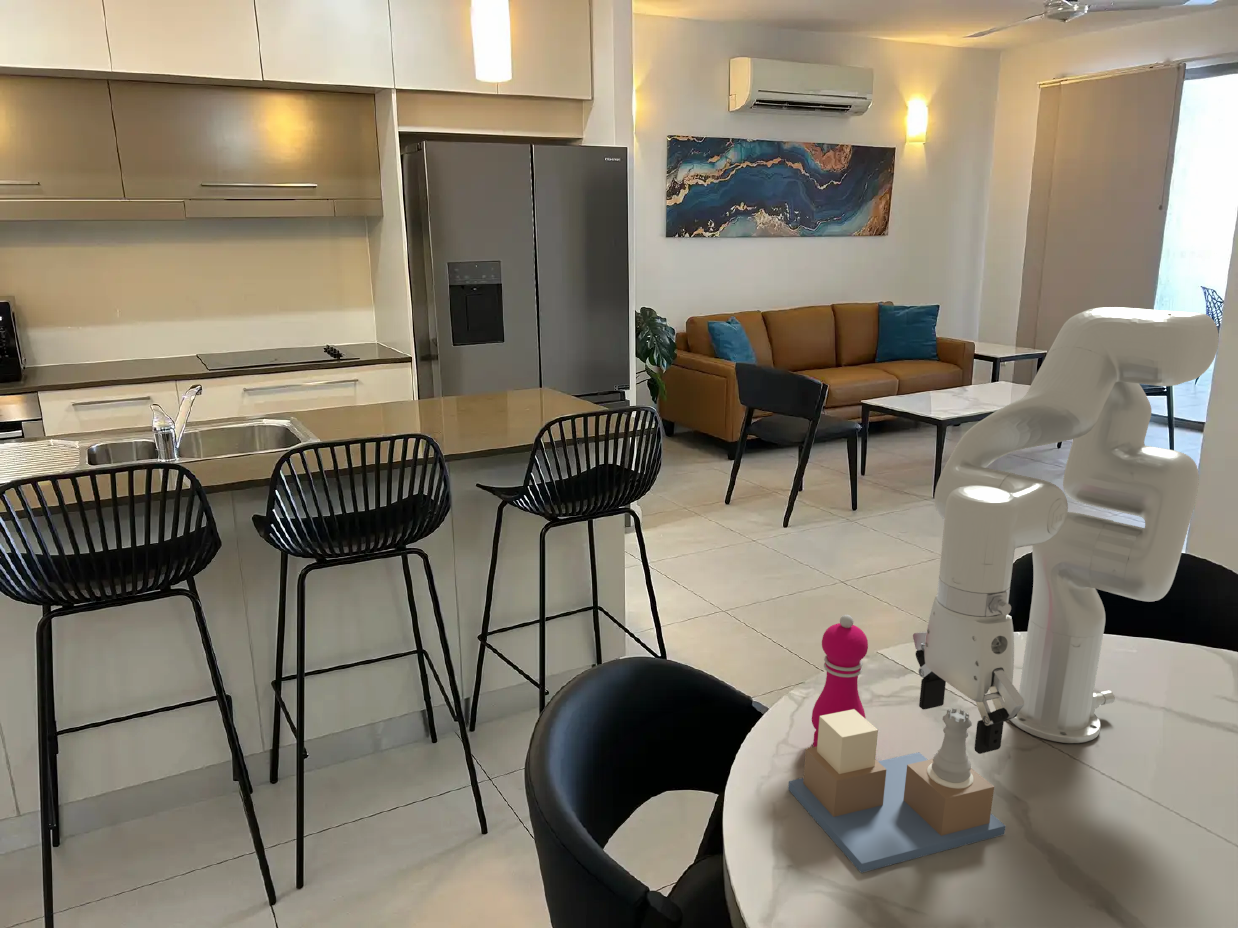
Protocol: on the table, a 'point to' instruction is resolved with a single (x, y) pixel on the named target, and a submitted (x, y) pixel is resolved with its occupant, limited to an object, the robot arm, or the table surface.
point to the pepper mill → (841, 670)
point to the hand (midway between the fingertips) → (958, 727)
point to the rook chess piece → (953, 748)
